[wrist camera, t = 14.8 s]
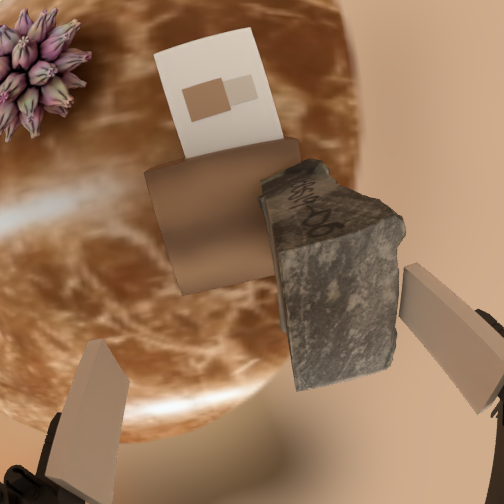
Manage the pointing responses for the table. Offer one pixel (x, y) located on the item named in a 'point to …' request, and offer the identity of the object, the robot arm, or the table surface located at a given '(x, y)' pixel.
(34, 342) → the table surface
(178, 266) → the base brick
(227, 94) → the page
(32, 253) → the table surface
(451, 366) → the robot arm
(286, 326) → the stone block
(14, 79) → the flower
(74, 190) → the table surface
